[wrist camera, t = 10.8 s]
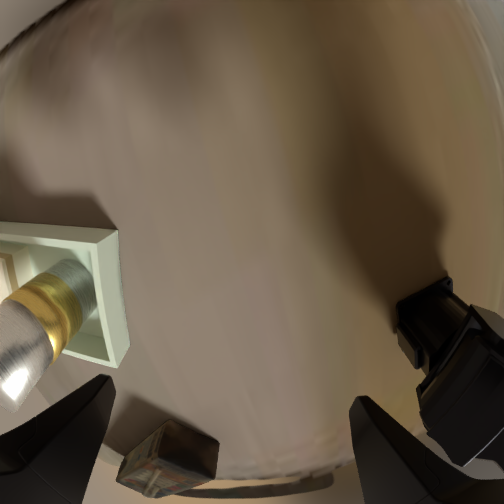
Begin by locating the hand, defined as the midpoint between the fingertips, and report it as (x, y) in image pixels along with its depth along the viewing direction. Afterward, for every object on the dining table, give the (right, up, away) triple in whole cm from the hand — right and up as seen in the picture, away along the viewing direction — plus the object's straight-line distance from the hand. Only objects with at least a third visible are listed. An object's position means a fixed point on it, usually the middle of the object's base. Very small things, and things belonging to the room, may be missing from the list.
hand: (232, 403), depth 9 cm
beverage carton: (-12, -23, +23) cm, 35 cm away
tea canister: (-15, +2, +13) cm, 20 cm away
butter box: (-23, +3, +12) cm, 26 cm away
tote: (-19, +2, +13) cm, 23 cm away
